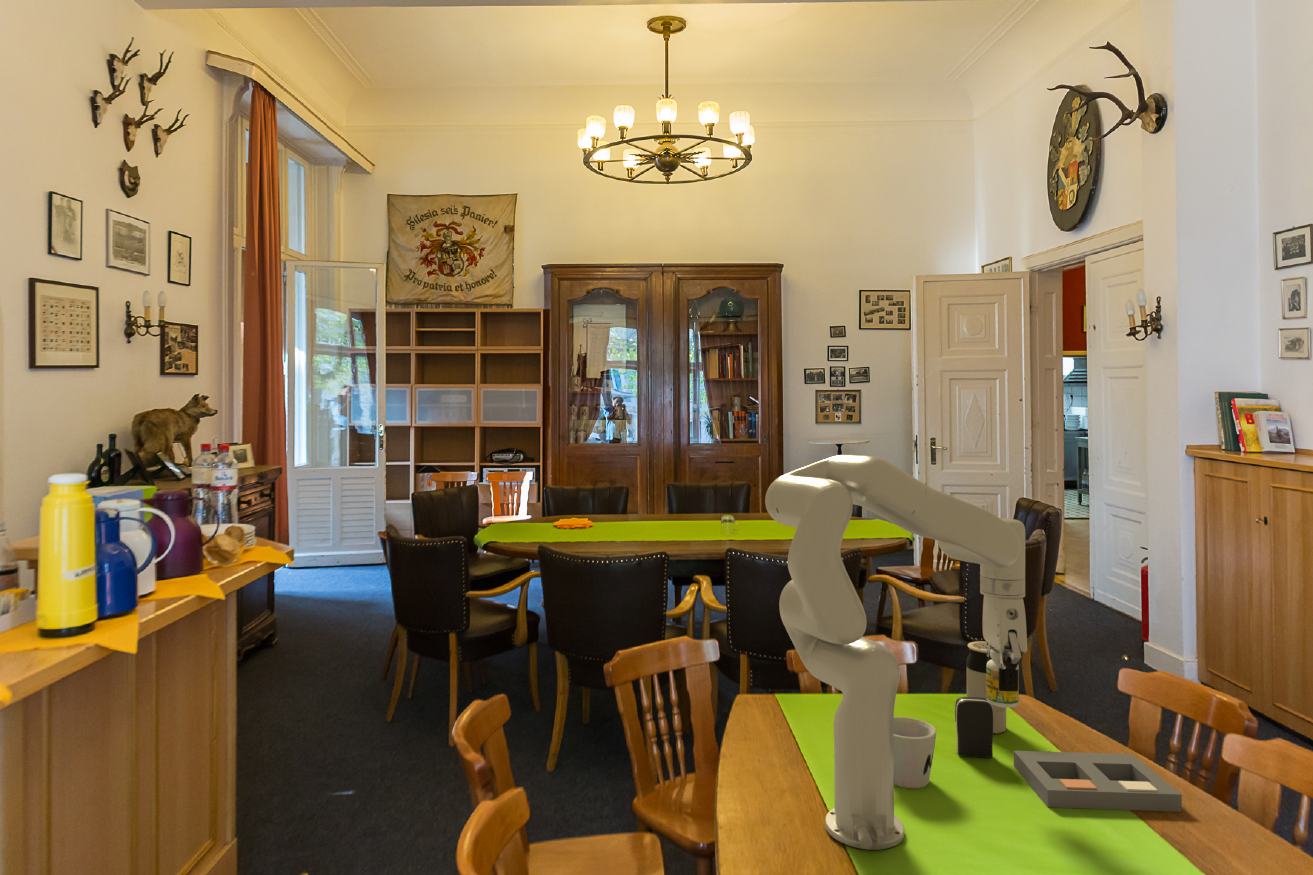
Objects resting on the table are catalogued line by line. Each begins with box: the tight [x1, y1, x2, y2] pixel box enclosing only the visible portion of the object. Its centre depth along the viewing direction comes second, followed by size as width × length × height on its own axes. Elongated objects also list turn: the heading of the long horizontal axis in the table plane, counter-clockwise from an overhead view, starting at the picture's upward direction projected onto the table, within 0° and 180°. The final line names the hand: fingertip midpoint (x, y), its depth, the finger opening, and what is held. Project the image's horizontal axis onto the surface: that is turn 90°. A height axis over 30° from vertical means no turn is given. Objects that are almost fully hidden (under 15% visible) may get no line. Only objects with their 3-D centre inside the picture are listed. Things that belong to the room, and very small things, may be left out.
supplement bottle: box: [986, 648, 1020, 709], centre depth 139 cm, size 5×5×10 cm
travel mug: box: [966, 641, 1007, 734], centre depth 167 cm, size 8×8×18 cm
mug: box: [893, 716, 937, 789], centre depth 144 cm, size 10×15×10 cm
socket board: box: [1013, 750, 1183, 813], centre depth 139 cm, size 16×22×3 cm
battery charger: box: [954, 696, 994, 759], centre depth 154 cm, size 7×4×11 cm, turn 79°
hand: (1002, 683), depth 140 cm, fingers closed on supplement bottle, 5 cm apart
